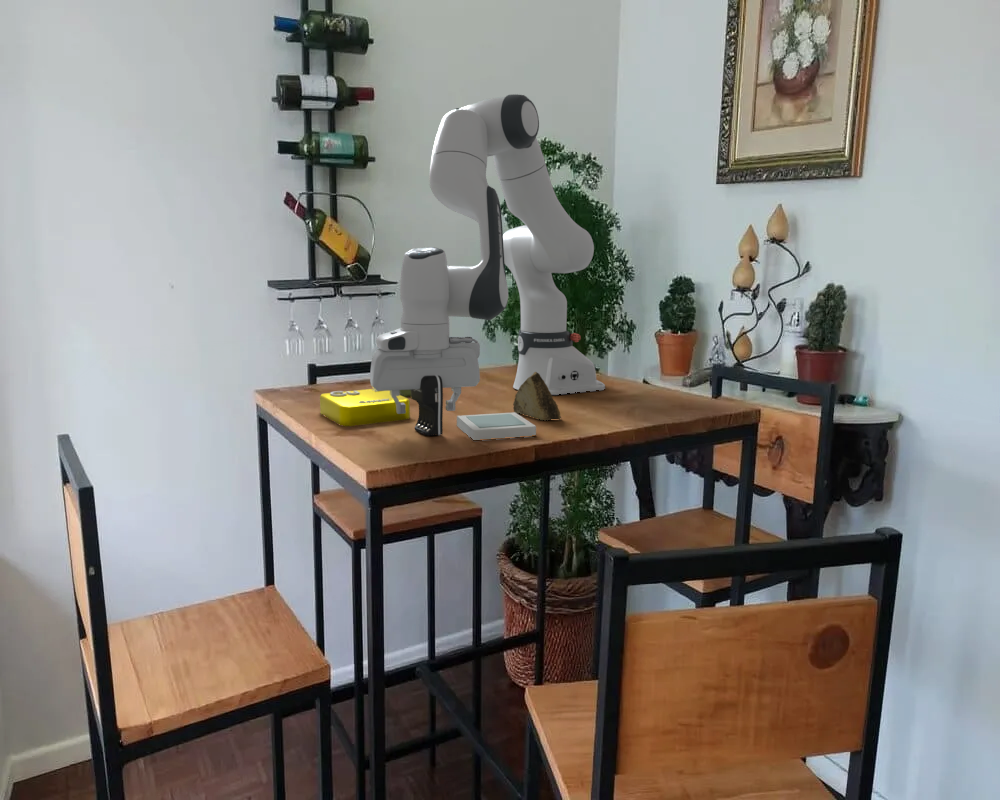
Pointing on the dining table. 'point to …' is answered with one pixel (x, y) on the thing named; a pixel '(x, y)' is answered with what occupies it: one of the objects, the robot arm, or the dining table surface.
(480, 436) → the plate
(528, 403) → the rock
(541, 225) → the robot arm
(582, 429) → the dining table surface
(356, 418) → the element tile
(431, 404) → the battery charger
